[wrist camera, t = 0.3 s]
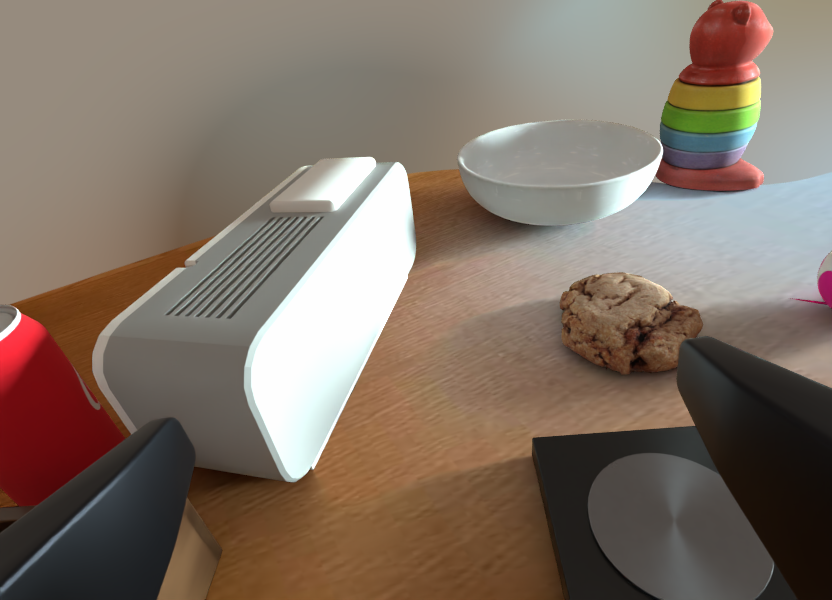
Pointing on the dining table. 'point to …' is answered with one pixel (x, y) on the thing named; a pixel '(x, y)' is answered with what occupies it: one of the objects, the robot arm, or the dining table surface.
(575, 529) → the stove
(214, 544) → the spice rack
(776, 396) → the robot arm
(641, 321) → the cookie
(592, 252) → the dining table surface
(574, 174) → the serving bowl
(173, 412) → the alarm clock
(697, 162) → the stacking bear
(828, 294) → the stress ball
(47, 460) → the beverage can
